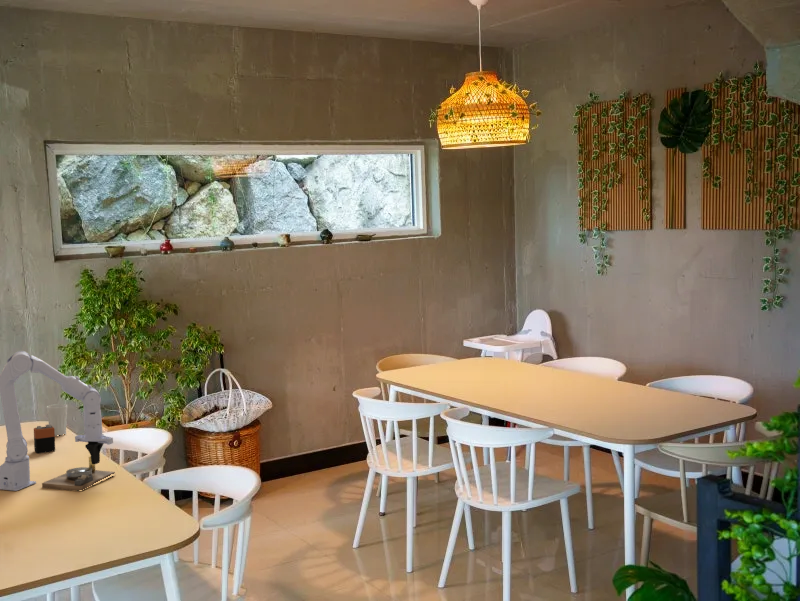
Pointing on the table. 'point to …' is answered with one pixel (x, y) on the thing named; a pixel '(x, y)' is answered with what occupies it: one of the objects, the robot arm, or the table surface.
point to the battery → (44, 439)
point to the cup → (57, 417)
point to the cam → (80, 471)
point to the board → (71, 483)
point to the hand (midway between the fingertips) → (95, 463)
